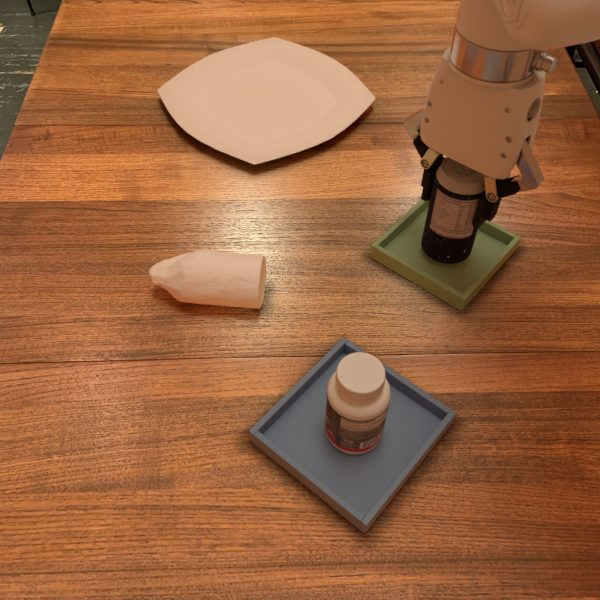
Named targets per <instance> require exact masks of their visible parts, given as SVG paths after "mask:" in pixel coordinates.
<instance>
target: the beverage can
mask: <svg viewBox="0 0 600 600" xmlns="http://www.w3.org/2000/svg"><path fill="white" fill-rule="evenodd" d="M483 194H485V183H484V174H482V173H480V172H478V171H476V170H473V169H471V168H469V167H467V166H465V165H463V164H461V163H459V162H457V161H455V160H453V159H451V158H449V157H447V156H445V159H444V160H443V162H442V164H441V166H440V167H439V168H438V169H437V171H436V173H435V178H434V183H433V188H432V193H431V197H430V202H429V207H428V212H427V217H426V221H425V226H424V231H423V236H422V241H421V246H422V249H423V251H424V252H425V253H426V255H427V256H429V257H430V258H431V259H433V260H434V261H436V262H438V263H441V264H454V263H459V262H462V261H464V260H465V259H467V258H468V257H469V255H470V254H471V251H472V248H473V244H474V241H475V237H476V234H477V231H478V229H477V228H475V227H473V225H472V222H473V219H474V215H475V212H476V208H477V205H478V201H479V199H480V197H481V196H482V195H483Z"/></svg>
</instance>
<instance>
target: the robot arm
mask: <svg viewBox="0 0 600 600" xmlns="http://www.w3.org/2000/svg"><path fill="white" fill-rule="evenodd" d="M452 34H453V35H452V40H451V44H450V45H449V47H447V48H446V49H445V50H444V52H443V54H442V56H441V58H440V60H439V63H438V65H437V68H436V70H435V73H434V76H433V78H432V81H431V83H430V87H429V90H428V93H427V96H426V100H425V104H424V107H423V108H421V109H419V110H417V111H415V112H414V113H412V114H411V115H408V117H406V118H405V119H404V120H403V121H402V125H403V127H404V129H405V130H406V132H407V134H408V135H409V137H410V139H412V144H413V147H414V148H415V150H416V152H417V153H418V155H419V156H420V161H419V164H420V166H421V167H422V168H423V170H422V171H423V172H422V177H421V182H420V186H421V187H422V190H421V196H420V200H421V199H422V200H424V201H428V200H429V199H430V197H431V193H432V188H433V183H434V178H435V173H436V171H437V169H438V168H439V167H440V166H441V164H442V162H443V160H444V159H445V158H446V157H449V158H451V159H453V160H455V161H457V162H459V163H461V164H463V165H465V166H467V167H469V168H471V169H473V170H476V171H478V172H480V173H482V174H484V183H485V194H483V195H482V196H481V197H480V199H479V201H478V205H477V208H476V212H475V215H474V219H473V222H472V225H473V227H475V228H477V229H478V228H479V227H480V226H481V225H482V224H483V223H484V222H485V221H486V220H488V221H491V222H492V220H494V218H495V217H496V215H497V213H498V211H499V208H500V205H501V202H502V199H503V198H508V197H511V196H514V195H516V194H517V193H521V192H522V193H523V192H528V191H532V190H536V189H537V188H539V186H541V184H543V182H545V176H544V175H543V172H542V170H541V168H540V165H539V163H538V161H537V159H536V157H535V155H534V153H533V150H532V149H533V146H534V142H535V139H536V135H537V131H538V127H539V122H540V118H541V114H542V108H543V103H544V102H543V100H544V96H545V87H546V74H552V72H553V71H554V69H555V68H556V65H557V63H558V57H557V56H554V55H551V52H549V50H556V49H562V48H567V47H572V46H576V45H577V46H578V45H582V44H587V43H591V42H595V41H599V40H600V0H459V5H458V10H457V14H456V20H455V24H454V29H453V33H452ZM515 166H517V169H518V170H519V173H520V174H518V175H513V176H511V173H512V170H514V169H515Z"/></svg>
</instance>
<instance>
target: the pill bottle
mask: <svg viewBox="0 0 600 600" xmlns="http://www.w3.org/2000/svg"><path fill="white" fill-rule="evenodd" d="M381 362H382V361H381V360H380V359H378V358H377V357H376V356H374V355H373V354H370V353H368V352H367V353H363V352H356V353H352V354H349V355H347V356H345V357H344V358H343V359H342V360H341V361H340V362H339V364H338V366H337V371H336V372H335V373H334V374H333V375H332V376H331V378H330V380H329V383H328V387H327V402H326V418H325V431H326V435H327V437H328V439H329V441H330V442H331V444H332V445H333V446H334V447H335V448H337V449H338V450H340V451H342V452H344V453H346V454H352V455H357V454H364V453H367V452H369V451H371V450H372V449H374V448H375V447H376V446H377V445H378V443H379V442H380V440H381V438H382V435H383V431H384V426H385V421H386V416H387V412H388V407H389V403H390V396H391V391H390V386H389V383H388V381H387V379H386V377H385V369H384V366H383V365H382V363H383V362H382V363H381Z"/></svg>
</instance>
